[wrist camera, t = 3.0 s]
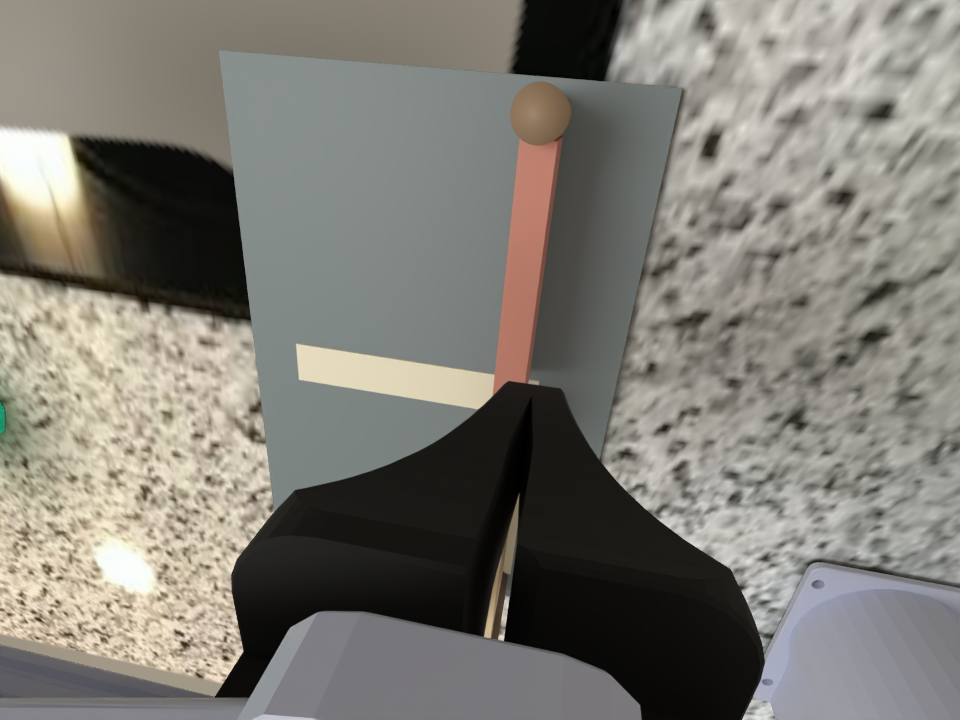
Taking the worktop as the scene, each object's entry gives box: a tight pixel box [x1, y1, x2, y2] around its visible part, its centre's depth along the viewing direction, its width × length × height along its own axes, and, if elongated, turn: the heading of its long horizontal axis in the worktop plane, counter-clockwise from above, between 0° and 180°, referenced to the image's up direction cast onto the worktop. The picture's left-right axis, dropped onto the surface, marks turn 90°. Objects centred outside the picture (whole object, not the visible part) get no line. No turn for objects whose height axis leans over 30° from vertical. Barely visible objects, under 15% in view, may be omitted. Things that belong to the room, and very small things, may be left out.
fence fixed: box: [484, 534, 508, 640], centre depth 22 cm, size 12×2×6 cm, turn 175°
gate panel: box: [493, 81, 572, 395], centre depth 17 cm, size 10×1×5 cm, turn 175°
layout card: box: [219, 50, 682, 596], centre depth 23 cm, size 24×16×1 cm, turn 175°
